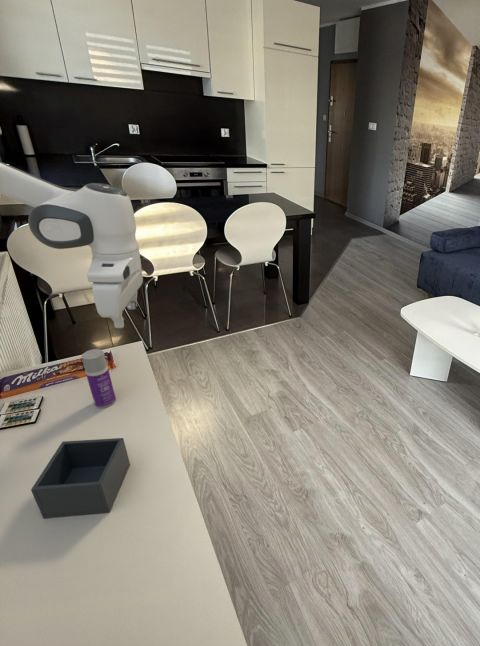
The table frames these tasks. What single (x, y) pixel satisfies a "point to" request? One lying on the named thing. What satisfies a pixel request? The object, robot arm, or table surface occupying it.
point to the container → (98, 378)
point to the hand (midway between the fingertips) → (126, 317)
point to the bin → (82, 478)
